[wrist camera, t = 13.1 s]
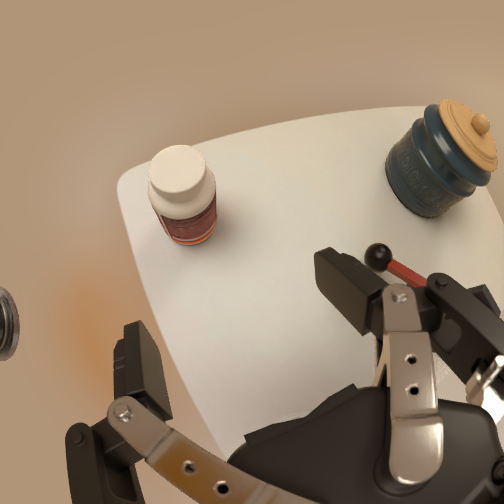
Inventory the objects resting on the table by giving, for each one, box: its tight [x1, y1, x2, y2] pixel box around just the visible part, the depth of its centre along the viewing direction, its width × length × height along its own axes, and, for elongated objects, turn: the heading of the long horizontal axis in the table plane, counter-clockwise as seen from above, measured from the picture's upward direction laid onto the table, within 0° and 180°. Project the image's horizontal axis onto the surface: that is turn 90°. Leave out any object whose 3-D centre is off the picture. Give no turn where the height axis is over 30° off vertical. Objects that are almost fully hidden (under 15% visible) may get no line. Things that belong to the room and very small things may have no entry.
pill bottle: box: [148, 145, 217, 245], centre depth 26 cm, size 6×6×11 cm
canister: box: [386, 99, 498, 217], centre depth 28 cm, size 13×13×18 cm
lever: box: [364, 243, 427, 288], centre depth 24 cm, size 16×3×3 cm
